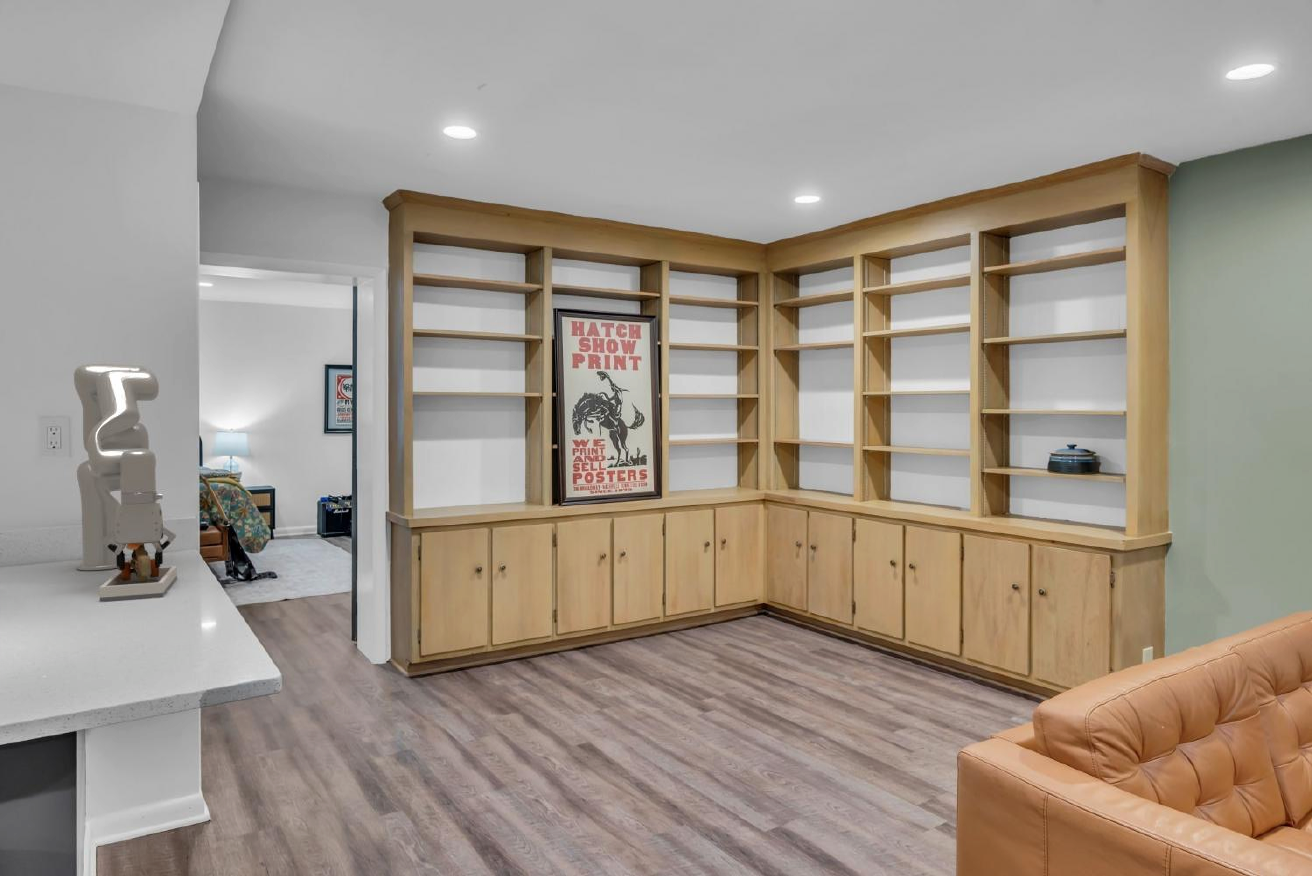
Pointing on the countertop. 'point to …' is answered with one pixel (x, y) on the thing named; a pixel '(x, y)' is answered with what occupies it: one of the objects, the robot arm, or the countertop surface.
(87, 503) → the robot arm
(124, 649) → the countertop surface
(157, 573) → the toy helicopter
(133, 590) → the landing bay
